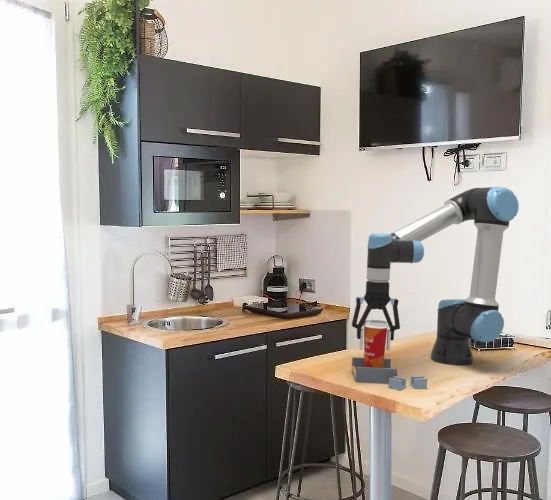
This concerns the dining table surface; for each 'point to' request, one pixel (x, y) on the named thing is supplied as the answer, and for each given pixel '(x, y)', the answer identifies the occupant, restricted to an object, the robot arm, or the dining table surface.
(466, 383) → the dining table surface
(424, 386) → the clip
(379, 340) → the coffee cup
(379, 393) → the dining table surface
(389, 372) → the end holder
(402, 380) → the clip
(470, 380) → the dining table surface
